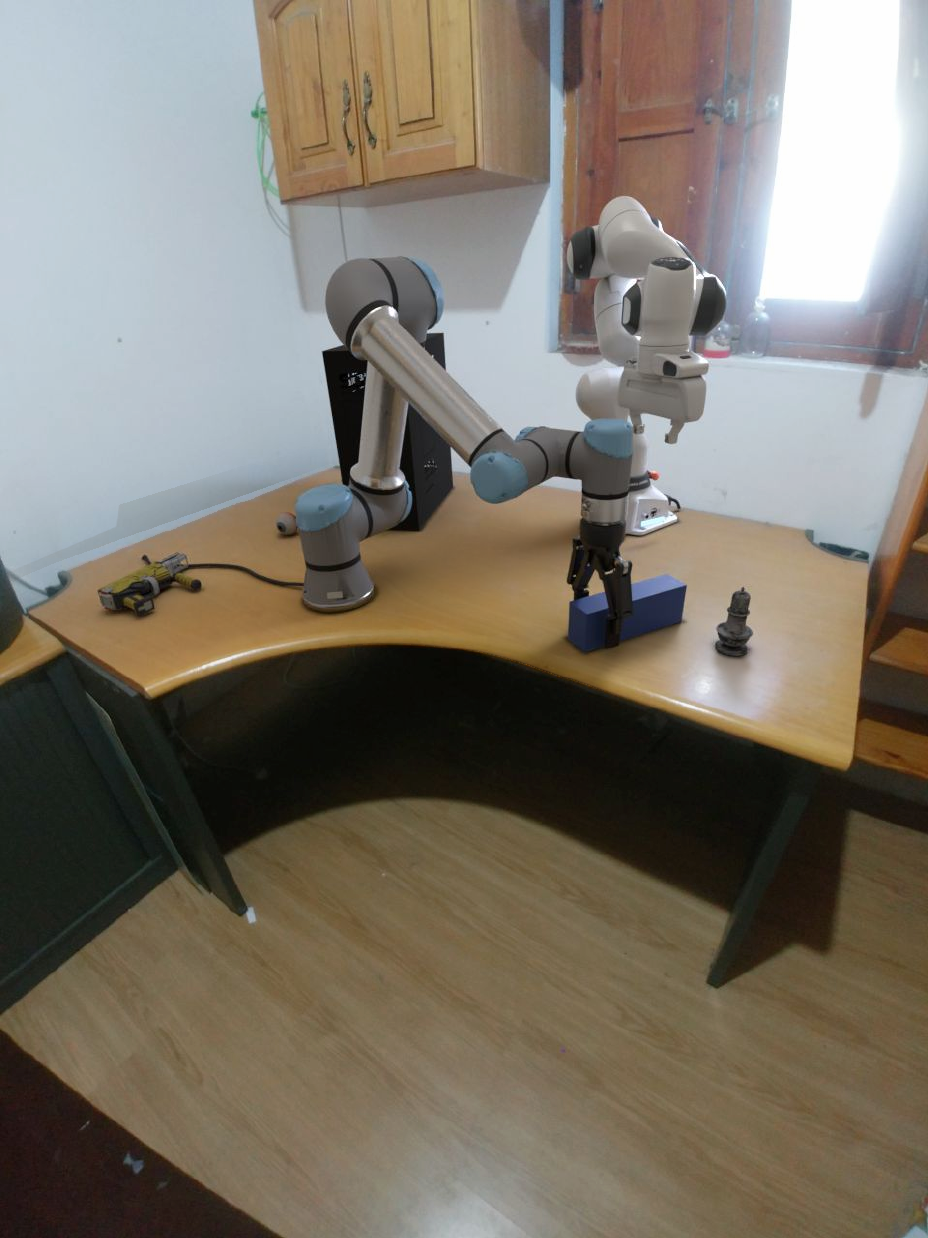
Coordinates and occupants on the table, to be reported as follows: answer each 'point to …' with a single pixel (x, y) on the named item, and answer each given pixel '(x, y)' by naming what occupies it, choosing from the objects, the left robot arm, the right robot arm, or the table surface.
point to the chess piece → (735, 626)
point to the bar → (651, 611)
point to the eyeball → (286, 523)
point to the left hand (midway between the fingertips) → (595, 634)
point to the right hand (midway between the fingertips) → (653, 438)
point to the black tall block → (418, 434)
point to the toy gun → (146, 585)
